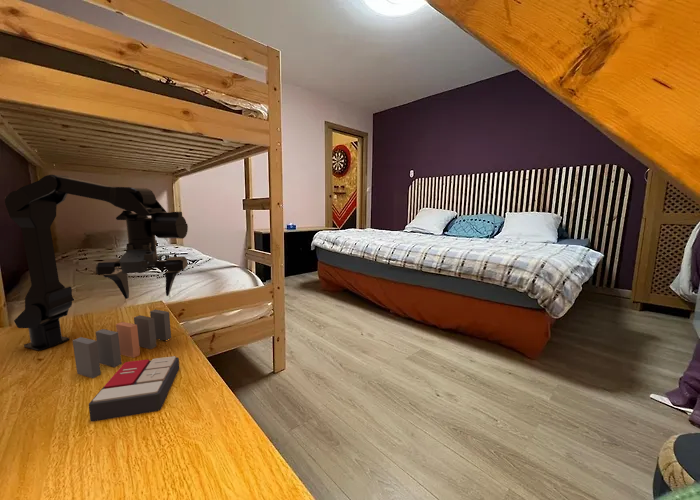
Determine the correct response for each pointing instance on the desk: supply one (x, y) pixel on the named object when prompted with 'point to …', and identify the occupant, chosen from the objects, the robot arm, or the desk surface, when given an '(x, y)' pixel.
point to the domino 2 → (108, 348)
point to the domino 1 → (86, 357)
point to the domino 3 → (128, 339)
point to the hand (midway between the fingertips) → (147, 297)
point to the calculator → (135, 389)
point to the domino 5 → (161, 324)
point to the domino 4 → (145, 331)
